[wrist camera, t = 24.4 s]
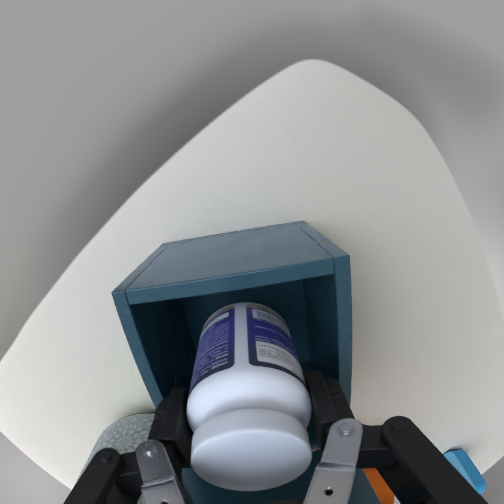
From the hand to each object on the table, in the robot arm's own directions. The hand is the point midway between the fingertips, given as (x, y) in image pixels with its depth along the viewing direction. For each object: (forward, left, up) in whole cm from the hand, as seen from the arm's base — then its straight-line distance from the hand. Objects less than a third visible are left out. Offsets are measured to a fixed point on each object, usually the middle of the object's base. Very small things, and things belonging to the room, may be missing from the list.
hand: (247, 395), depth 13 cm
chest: (+1, 0, -12) cm, 12 cm away
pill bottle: (0, 0, -6) cm, 6 cm away
